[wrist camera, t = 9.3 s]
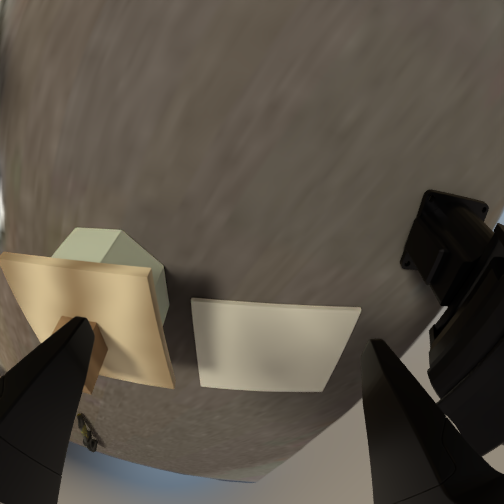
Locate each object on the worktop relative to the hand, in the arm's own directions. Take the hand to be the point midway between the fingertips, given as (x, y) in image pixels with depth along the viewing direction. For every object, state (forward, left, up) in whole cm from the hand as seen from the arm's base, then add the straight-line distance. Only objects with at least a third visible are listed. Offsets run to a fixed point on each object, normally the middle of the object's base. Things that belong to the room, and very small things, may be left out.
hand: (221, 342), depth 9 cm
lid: (+11, +9, -7) cm, 15 cm away
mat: (-3, +17, -12) cm, 21 cm away
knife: (+31, +55, -12) cm, 64 cm away
